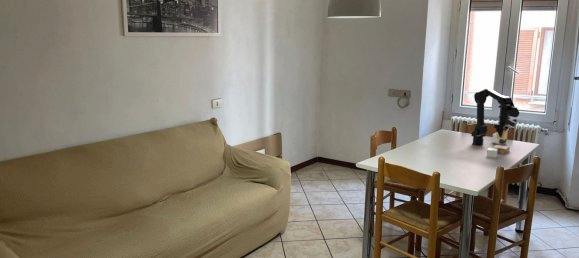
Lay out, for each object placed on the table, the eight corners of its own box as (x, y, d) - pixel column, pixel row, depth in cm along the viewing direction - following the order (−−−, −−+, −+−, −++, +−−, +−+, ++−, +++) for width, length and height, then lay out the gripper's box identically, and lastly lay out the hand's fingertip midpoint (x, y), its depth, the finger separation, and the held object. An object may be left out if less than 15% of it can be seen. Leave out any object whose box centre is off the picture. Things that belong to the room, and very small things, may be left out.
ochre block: (496, 138, 323) (497, 130, 322) (499, 137, 327) (500, 129, 325) (504, 139, 320) (505, 131, 318) (506, 138, 323) (507, 130, 322)
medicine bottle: (499, 144, 347) (500, 129, 344) (491, 142, 353) (493, 127, 351) (506, 143, 350) (507, 128, 347) (498, 141, 356) (500, 126, 354)
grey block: (486, 156, 313) (487, 149, 312) (487, 154, 318) (488, 147, 317) (496, 157, 310) (496, 150, 309) (496, 155, 315) (497, 148, 314)
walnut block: (492, 152, 324) (492, 147, 324) (495, 150, 331) (496, 144, 330) (505, 154, 319) (506, 149, 318) (509, 152, 326) (509, 146, 325)
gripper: (511, 118, 308) (509, 140, 311) (521, 114, 321) (518, 136, 324) (494, 116, 315) (492, 138, 318) (504, 112, 328) (502, 134, 331)
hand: (502, 136), depth 323 cm, fingers closed on ochre block, 5 cm apart
